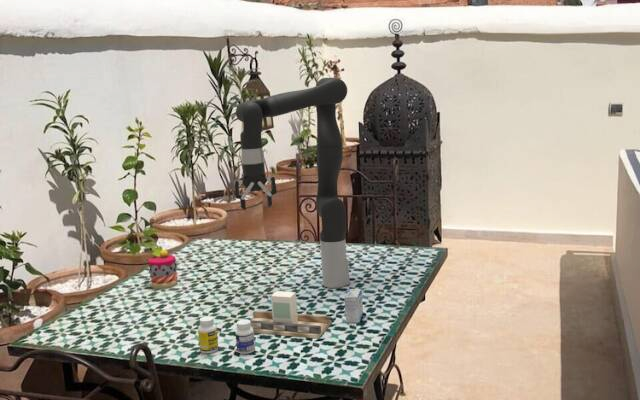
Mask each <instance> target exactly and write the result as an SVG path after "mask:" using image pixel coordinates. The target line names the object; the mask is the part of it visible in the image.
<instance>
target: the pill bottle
mask: <svg viewBox="0 0 640 400" xmlns="http://www.w3.org/2000/svg"><path fill="white" fill-rule="evenodd" d="M250 320H251V319H246V318H245V319H239V320H238V321H237V322H236V329H235V334H234V335H235V341H236V342H235V343H236V344H235V346H236V352H237V353H239V354H241V355H243V354H244V355H247V354H251V353H253V352H255V350H256V344H255V333H254V331H253V328H252V327H250V326H251V322H250Z"/></svg>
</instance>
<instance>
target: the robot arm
mask: <svg viewBox="0 0 640 400" xmlns="http://www.w3.org/2000/svg"><path fill="white" fill-rule="evenodd" d="M347 95H348V86H347V84H346V83H345V82H344V80H342V79H341V78H338V77H323V78H321V79H319V80H318V81H317V82H316V84H315V86H313V87H309V88H304V89H300V90H299V89H298V90H292V91H291V90H290V91H287V92H282V93H278V94H277V93H276V94H273V95H269V96H267V97H264V98H259V99H251V100H247V101H243V102H241V103H239V104H238V106H237V107H236V109H235V116H236V118H237V119H238V120H239V121H240V122H241V123H242V132H241V133H240V145H241V146H240V147H241V149H240V150H241V152H240V154H241V155H240V157H241V166H242V167H241V169H242V179H241V180H238V179H234V181H233V186H234V187H233V193H234V197H235V198H236V199H239V201H240V208H241V209H242V210H243V211H246V210H247V206H246V196H248V194H249V193H250V192H251V193H253V192H261V191H263V192H264V193H265V194H266V197H265V198H266V206H267V207H268V208H271V206H273V200H272V199H273V198H272V197H273V196H274V195H276V194H278V193H277V184H276V179H275V178H276V177H275V176H273V175H272V176H271V175H270V176H269V177H266V171H265V170H266V169H265V155H264V150H263V141H262V131H263V121H264V118H274V117H279V116H282V115H286V114H290V113H292V112H296V111H300V110H303V109H307V108H311V107H315V109H316V111H315V112H316V159H317V160H316V163H317V167H316V169H317V191H316V192H317V193H316V203H315V209H316V212H317V215H318V216H319V217H320V218H321V230H320V233H319V240H320V241H319V242H320V256H321V276H322V286H324V287H325V288H329V289H330V288H331V289H338V288H343V287H346V286H348V285H351V282H350V267H349V263H350V262H349V259H348V258H347V244H346V242H347V241H346V233H347V209H346V205H345V203H344V202H343V200H341V199H340V198H339V194H338V193H339V191H338V180H339V174H340V172H341V168H342V165H343V157H344V155H343V154H344V152H343V149H344V145H343V138H342V133H341V131H340V127H339V124H338V122H337V116H336V115H337V114H336V109H337V107H336V106H337V104H340V103H341V102H343V101H344V100H345V99H346V97H347ZM267 183H268V184H270V188H271V189H270V190H269V189H268V188H267V187H266V186H265V185H266V184H267ZM242 184H243V185H242ZM241 186H244V188H243V190H242V192H241V193H240V187H241Z"/></svg>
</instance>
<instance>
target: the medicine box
mask: <svg viewBox="0 0 640 400" xmlns="http://www.w3.org/2000/svg"><path fill="white" fill-rule="evenodd" d="M363 307H364V306H363V292H362V289H361V288H349V289H347V292H346V295H345V296H344V313H345V322H346V323H348V324H349V323H350V324H351V323H354V324H355V323H356V324H357V323H358V324H360V322H361V320H362V317H363V314H364V308H363Z"/></svg>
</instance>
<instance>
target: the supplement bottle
mask: <svg viewBox="0 0 640 400" xmlns="http://www.w3.org/2000/svg"><path fill="white" fill-rule="evenodd" d="M214 322H215V320H214V317H213V316H208V315H207V316H203V317H200V318H199V326H198V327H197V334H198V345H199V346H198V347H199V351H200V353H202V354H213V353H215V352H217V351H218V350H219V340H218V339H219V338H218V328H217V325H216V324H215V323H214Z"/></svg>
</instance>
